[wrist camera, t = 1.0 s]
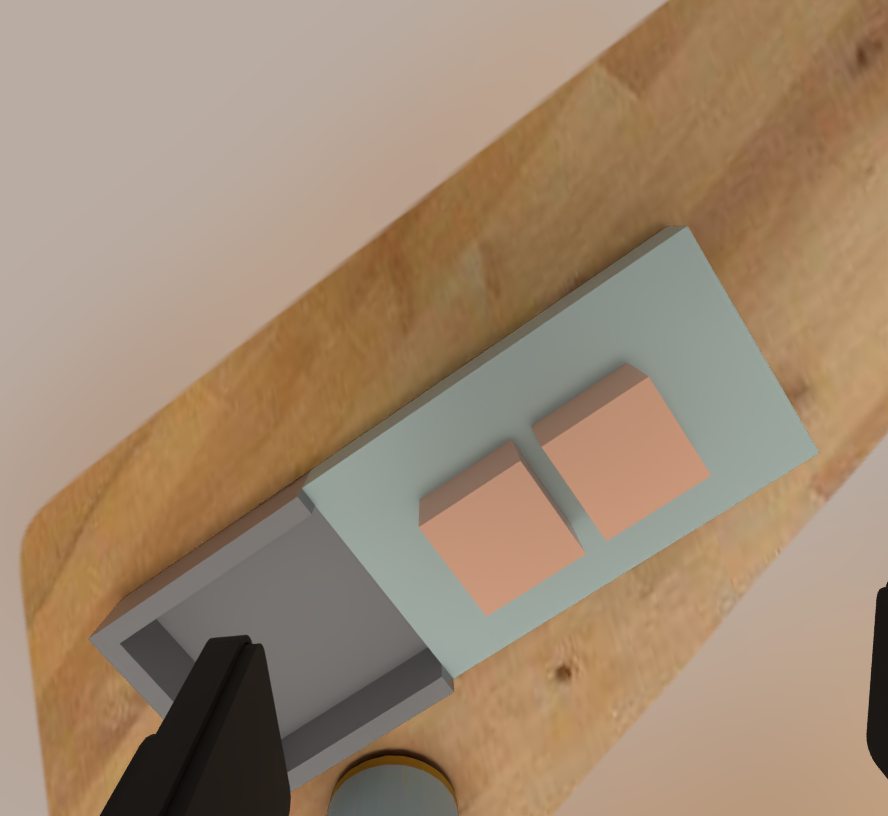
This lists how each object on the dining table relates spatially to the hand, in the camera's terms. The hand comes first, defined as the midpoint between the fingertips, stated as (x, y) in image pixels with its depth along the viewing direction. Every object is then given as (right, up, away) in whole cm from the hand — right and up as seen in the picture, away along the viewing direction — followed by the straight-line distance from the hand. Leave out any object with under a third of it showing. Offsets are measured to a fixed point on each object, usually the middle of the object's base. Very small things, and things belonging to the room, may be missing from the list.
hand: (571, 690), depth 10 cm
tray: (-10, -7, +25) cm, 28 cm away
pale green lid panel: (+3, +2, +23) cm, 23 cm away
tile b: (0, -1, +21) cm, 21 cm away
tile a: (+5, +3, +20) cm, 21 cm away
